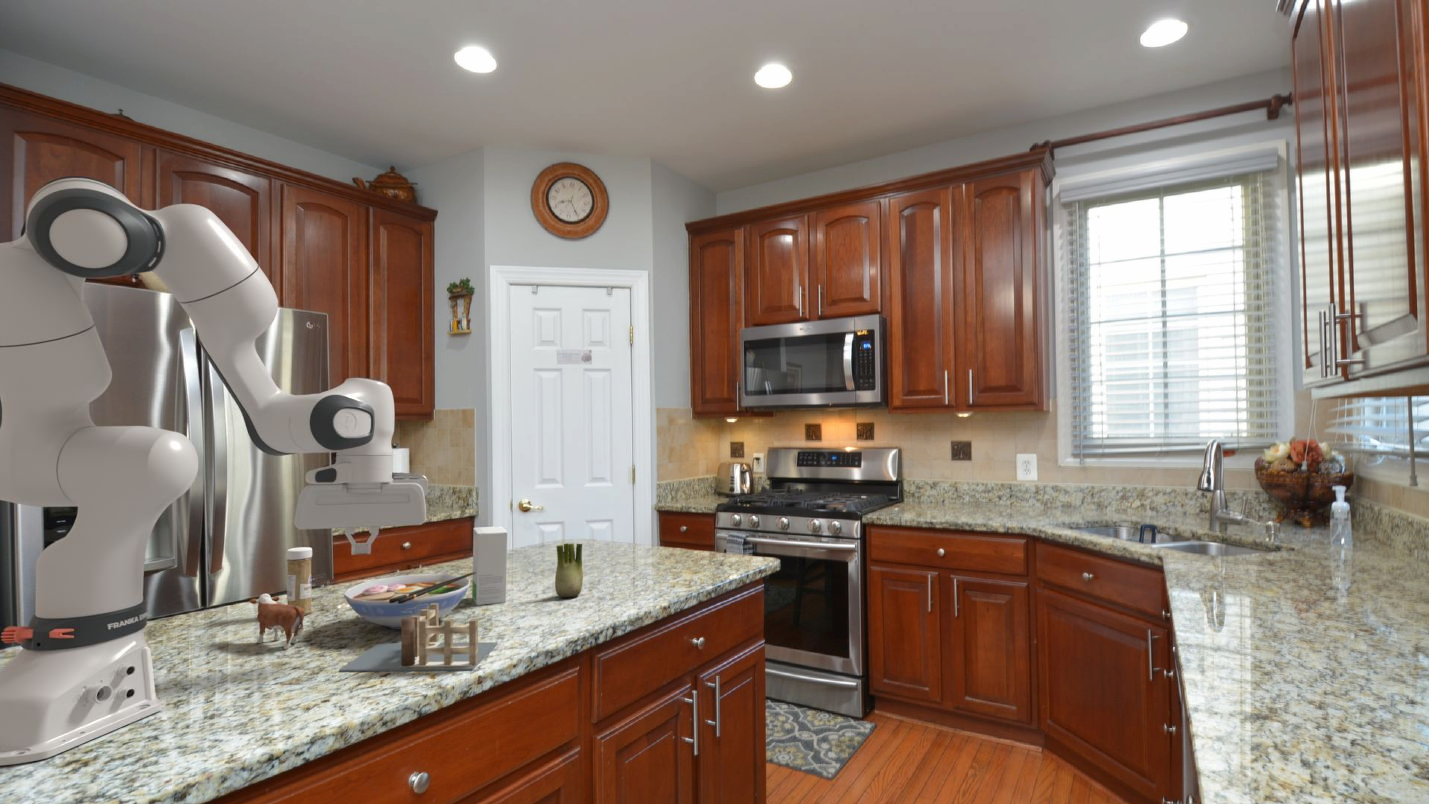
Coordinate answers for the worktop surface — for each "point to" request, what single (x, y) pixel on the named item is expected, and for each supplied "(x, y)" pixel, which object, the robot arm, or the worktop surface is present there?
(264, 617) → the bull figurine
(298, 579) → the spice jar
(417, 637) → the gate panel
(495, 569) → the skincare box
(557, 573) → the fennel bulb
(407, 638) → the corner post
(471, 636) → the fixed fence panel
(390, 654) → the card
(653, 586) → the worktop surface
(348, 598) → the ramen bowl
